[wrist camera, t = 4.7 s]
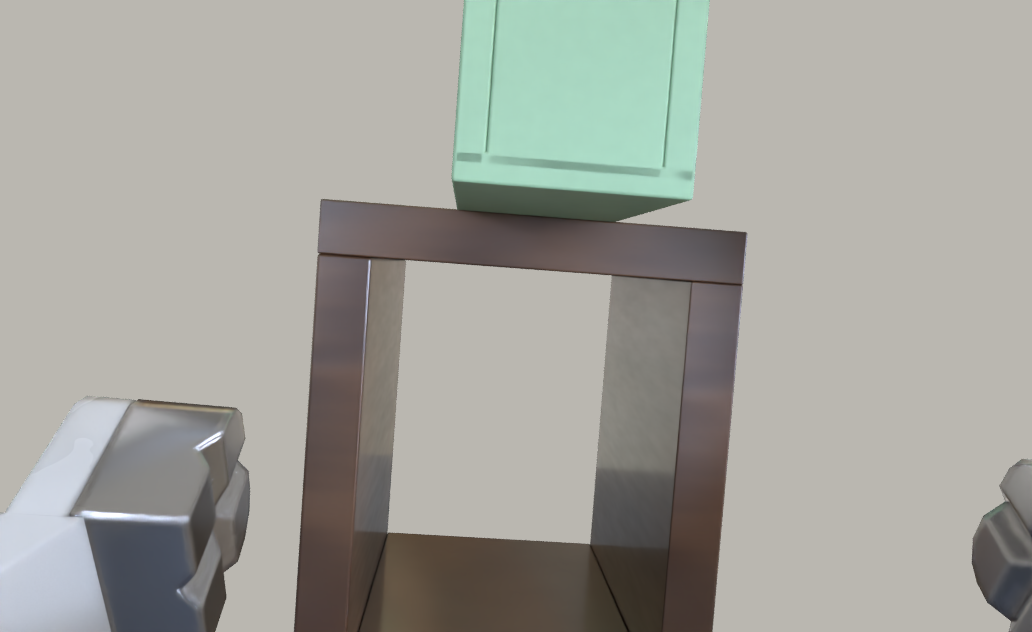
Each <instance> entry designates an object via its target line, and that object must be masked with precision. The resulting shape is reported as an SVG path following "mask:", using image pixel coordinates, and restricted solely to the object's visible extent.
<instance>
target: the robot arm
mask: <svg viewBox="0 0 1032 632" xmlns="http://www.w3.org/2000/svg"><path fill="white" fill-rule="evenodd" d="M244 441H245V433H244V425H243V418H242V413H241V412H240V411H239V410H238V409H237V408H232V407H221V406H209V405H198V404H187V403H175V402H164V401H151V400H141V399H138V400H137V401H136V400H130V399H119V398H108V397H95V396H86V397H85V398H83V399H81V400H80V401H78V402H77V403H75V404H74V406H73V407H72V408H71V410H70V412H69V413H68V415H67V416H66V418H65V419H64V421H63V423H62V424H61V426H60V427H59V429H58V430H57V432H56V434H55V435H54V437H53V438H52V440H51V441H50V443H49V444H48V446H47V448H46V449H45V451H44V452H43V454H42V455H41V457H40V459H39V460H38V462H37V463H36V465H35V466H34V468H33V469H32V471H31V472H30V474H29V476H28V477H27V479H26V480H25V482H24V483H23V485H22V487H21V488H20V490H19V491H18V493H17V494H16V496H15V497H14V499H13V501H12V502H11V504H10V505H9V507H8V508H7V510H6V512H5V513H0V632H215V631H216V628H217V624H218V621H219V618H220V615H221V612H222V609H223V606H224V603H225V600H226V590H225V581H224V572H225V571H226V570H228V569H229V568H230V567H231V566H233V565H234V564H235V563H236V562H238V559H239V556H240V552H241V549H242V546H243V542H244V539H245V534H246V528H247V522H248V516H249V507H250V483H249V472H248V470H247V469H246V468H245V467H244V466H243V465H242V464H241V463H240V462H239V461H238V457H239V455H240V452H241V449H242V447H243V444H244ZM1000 489H1001V491H1002V494H1003V497H1004V499H1005V502H1004V503H1003V504H1001V505H999V506H998V507H996V508H995V509H993V510H992V511H990V512H989V513H987V514H986V515H984V516H983V518H982V520H981V522H980V524H979V527H978V529H977V531H976V533H975V535H974V537H973V549H972V565H973V569H974V573H975V577H976V581H977V584H978V586H979V587H980V589H981V591H982V593H983V595H984V597H985V599H986V601H987V603H989V604H990V605H991V606H993V607H994V608H995V609H996V610H998V611H999V612H1000V613H1002V614H1003V615H1004V616H1005V617H1007V618H1008V619H1009V620H1010V621H1011V624H1010V628H1009V632H1032V459H1021V460H1020V461H1019V462H1017V463H1016V464H1015V465H1013V466H1012V467H1011V468H1009V470H1008V472H1007V473H1006V475H1005V477H1004V479H1003V481H1002V482H1001V484H1000Z"/></svg>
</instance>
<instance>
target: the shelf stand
mask: <svg viewBox="0 0 1032 632" xmlns="http://www.w3.org/2000/svg"><path fill="white" fill-rule="evenodd" d="M318 237H319V238H318V253H321V254H319V255H318V257H317V273H316V289H315V305H314V321H313V337H312V352H311V369H310V384H309V400H308V417H307V432H306V448H305V464H304V480H303V496H302V512H301V528H300V544H299V561H298V576H297V592H296V608H295V624H294V632H712V629H713V618H714V607H715V596H716V584H717V573H718V562H719V550H720V539H721V527H722V516H723V504H724V494H725V482H726V471H727V460H728V449H729V437H730V426H731V415H732V403H733V392H734V381H735V370H736V358H737V347H738V336H739V324H740V313H741V302H742V301H741V300H742V290H743V286H742V284H743V279H744V268H745V256H746V245H747V233H746V232H737V231H723V230H711V229H698V228H686V227H673V226H660V225H647V224H635V223H621V222H609V221H596V220H584V219H571V218H558V217H545V216H533V215H520V214H507V213H494V212H482V211H469V210H456V209H444V208H431V207H418V206H405V205H393V204H380V203H367V202H354V201H342V200H329V199H321V205H320V221H319V236H318ZM405 260H414V261H428V262H441V263H455V264H468V265H481V266H495V267H509V268H521V269H535V270H549V271H561V272H574V273H589V274H601V275H612V282H611V293H610V294H611V295H610V306H609V319H608V330H607V343H606V356H605V367H604V380H603V393H602V406H601V417H600V430H599V442H598V454H597V467H596V479H595V492H594V505H593V517H592V529H591V542H590V544H578V543H561V542H544V541H543V542H542V541H526V540H508V539H490V538H474V537H456V536H455V537H454V536H438V535H421V534H403V533H388V534H387V530H388V514H389V501H390V486H391V472H392V471H391V470H392V457H393V442H394V427H395V412H396V398H397V383H398V368H399V354H400V340H401V324H402V309H403V296H404V281H405V265H406V261H405Z"/></svg>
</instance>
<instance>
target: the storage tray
mask: <svg viewBox="0 0 1032 632" xmlns="http://www.w3.org/2000/svg"><path fill="white" fill-rule="evenodd" d="M709 2H710V0H464V9H463V23H462V37H461V51H460V52H461V53H460V66H459V80H458V94H457V109H456V122H455V136H454V151H453V166H452V182H453V188H454V193H455V199H456V204H457V210H469V211H482V212H494V213H507V214H520V215H533V216H545V217H558V218H571V219H584V220H596V221H609V222H616V221H619V220H623V219H626V218H630V217H633V216H637V215H640V214H644V213H647V212H651V211H654V210H657V209H661V208H665V207H668V206H671V205H675V204H678V203H682V202H685V201H689V200H691V199H692V198H693V189H694V179H695V166H696V155H697V143H698V131H699V120H700V108H701V96H702V84H703V73H704V61H705V60H704V59H705V49H706V37H707V26H708V14H709Z"/></svg>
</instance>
